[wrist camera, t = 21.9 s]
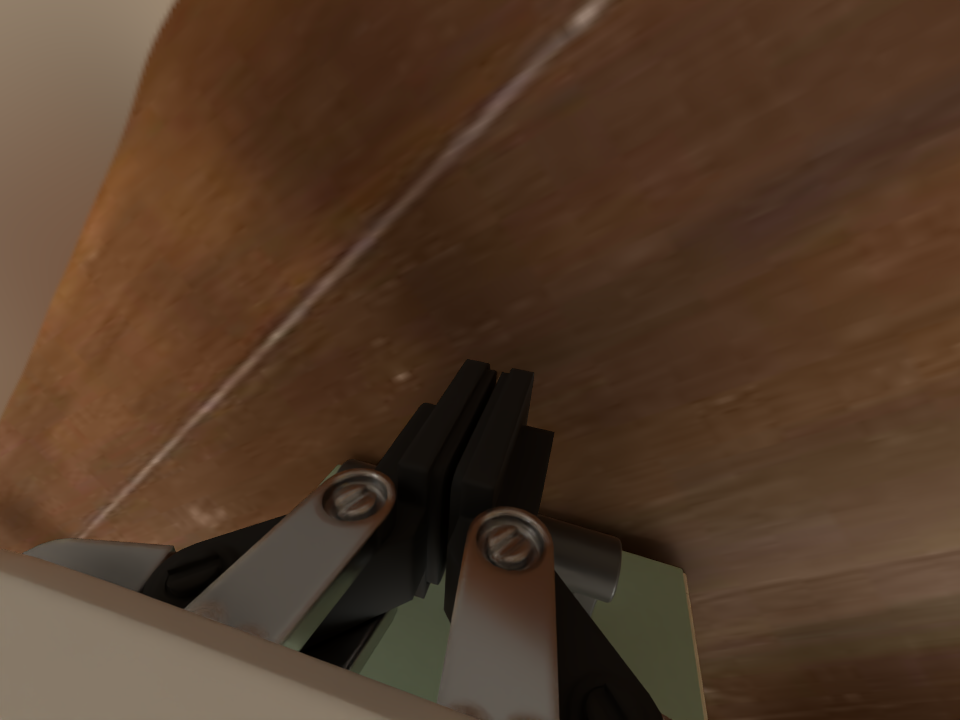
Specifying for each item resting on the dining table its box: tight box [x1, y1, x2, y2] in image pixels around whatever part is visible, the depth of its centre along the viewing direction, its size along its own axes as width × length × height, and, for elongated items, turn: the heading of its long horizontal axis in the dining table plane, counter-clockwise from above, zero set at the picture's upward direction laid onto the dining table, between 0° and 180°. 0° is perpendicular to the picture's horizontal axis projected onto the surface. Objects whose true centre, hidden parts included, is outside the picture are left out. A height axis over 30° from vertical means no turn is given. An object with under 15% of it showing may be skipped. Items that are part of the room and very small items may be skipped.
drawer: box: [320, 459, 704, 720], centre depth 16 cm, size 20×14×7 cm
